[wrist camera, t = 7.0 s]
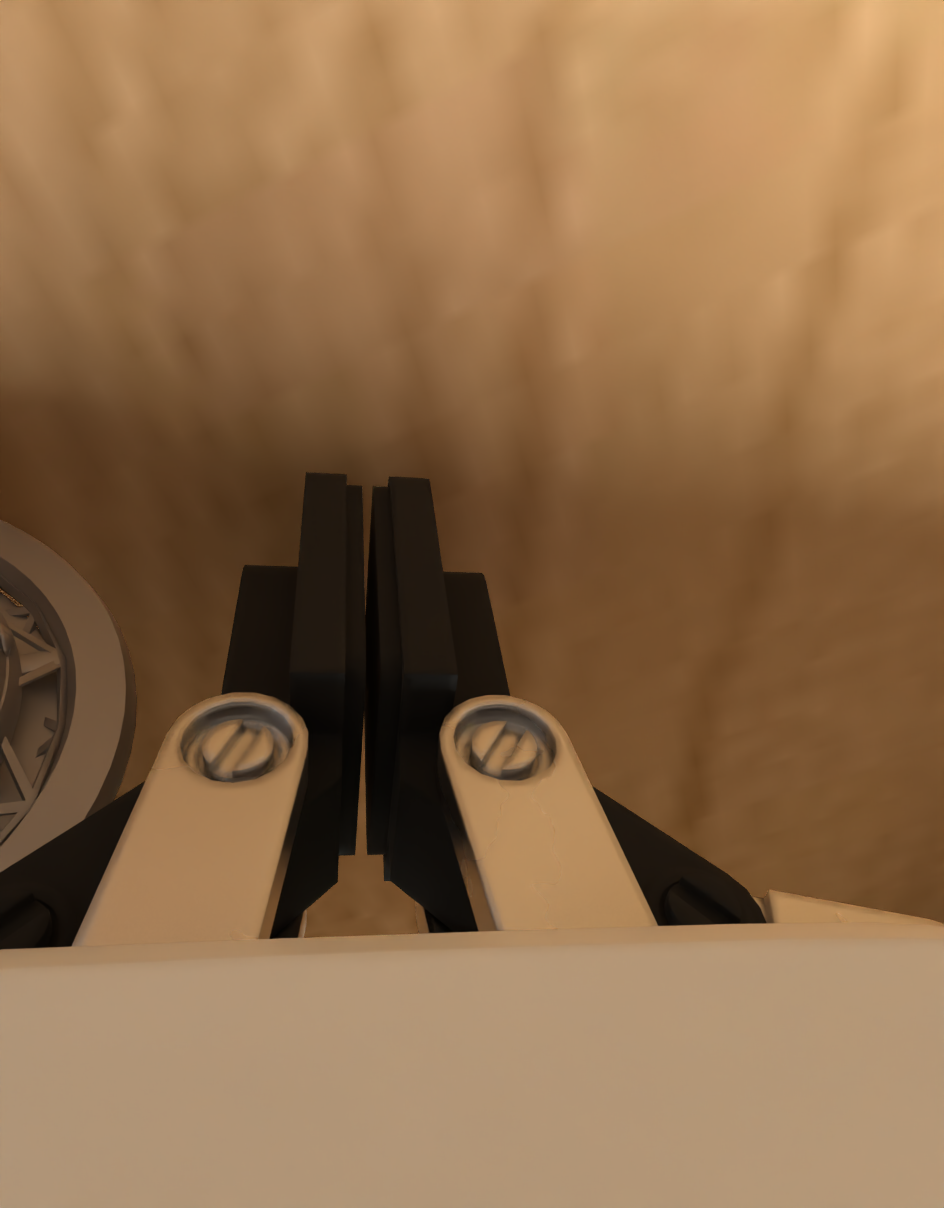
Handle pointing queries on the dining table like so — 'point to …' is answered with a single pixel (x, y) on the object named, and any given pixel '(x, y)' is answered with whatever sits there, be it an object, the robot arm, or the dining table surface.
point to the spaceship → (57, 697)
